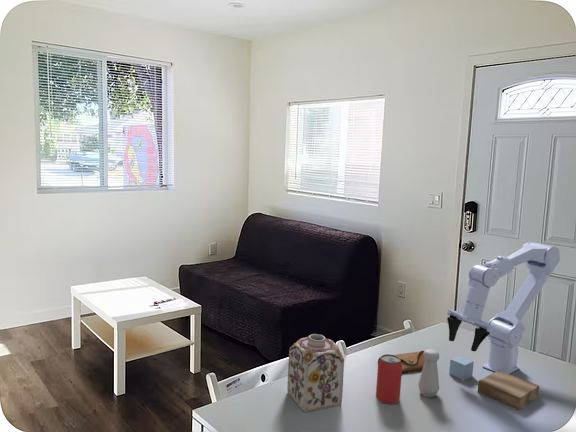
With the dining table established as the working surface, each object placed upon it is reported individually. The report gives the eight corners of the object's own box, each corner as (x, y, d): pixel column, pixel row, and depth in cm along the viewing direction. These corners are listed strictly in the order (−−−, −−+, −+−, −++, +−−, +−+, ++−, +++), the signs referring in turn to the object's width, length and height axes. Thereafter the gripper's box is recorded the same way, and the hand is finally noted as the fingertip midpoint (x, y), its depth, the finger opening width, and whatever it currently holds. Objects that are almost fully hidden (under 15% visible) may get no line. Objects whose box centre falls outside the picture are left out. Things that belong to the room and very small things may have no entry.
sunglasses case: (392, 376, 149) (387, 354, 151) (380, 378, 155) (375, 357, 157) (439, 368, 156) (433, 347, 158) (426, 371, 162) (421, 350, 164)
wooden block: (497, 382, 149) (498, 370, 148) (537, 398, 140) (539, 385, 139) (477, 393, 141) (478, 380, 141) (518, 411, 132) (519, 397, 132)
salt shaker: (439, 400, 136) (443, 356, 134) (418, 397, 137) (422, 353, 135) (437, 390, 142) (441, 348, 140) (417, 387, 143) (420, 345, 141)
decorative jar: (286, 392, 137) (288, 331, 134) (322, 385, 141) (325, 326, 139) (304, 414, 126) (307, 348, 124) (343, 406, 131) (346, 342, 128)
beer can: (385, 407, 131) (388, 365, 129) (370, 395, 137) (373, 355, 135) (404, 402, 134) (407, 361, 132) (389, 391, 140) (392, 351, 138)
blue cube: (457, 370, 156) (459, 355, 155) (472, 376, 152) (473, 361, 151) (449, 374, 152) (450, 359, 152) (463, 380, 149) (465, 365, 148)
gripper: (447, 295, 152) (435, 336, 152) (491, 311, 141) (477, 355, 141) (458, 296, 156) (446, 336, 157) (501, 312, 145) (488, 355, 146)
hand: (462, 345), depth 149 cm, fingers open, 7 cm apart
